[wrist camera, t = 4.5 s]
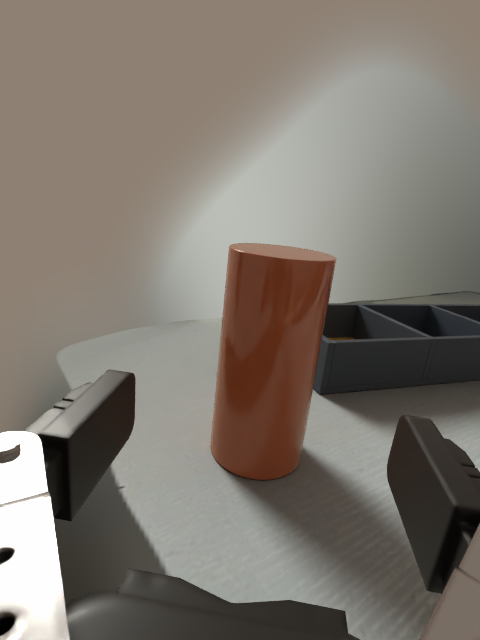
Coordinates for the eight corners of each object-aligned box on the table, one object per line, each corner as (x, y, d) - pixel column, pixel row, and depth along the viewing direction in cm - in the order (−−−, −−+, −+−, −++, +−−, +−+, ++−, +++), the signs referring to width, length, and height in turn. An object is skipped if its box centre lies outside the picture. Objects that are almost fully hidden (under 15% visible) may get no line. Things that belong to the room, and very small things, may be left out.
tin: (226, 487, 20) (252, 257, 16) (200, 427, 25) (216, 240, 21) (317, 471, 22) (359, 263, 18) (277, 419, 27) (303, 246, 23)
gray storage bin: (319, 394, 31) (328, 343, 29) (264, 343, 41) (269, 302, 39) (570, 371, 42) (586, 333, 41) (480, 335, 52) (490, 304, 51)
